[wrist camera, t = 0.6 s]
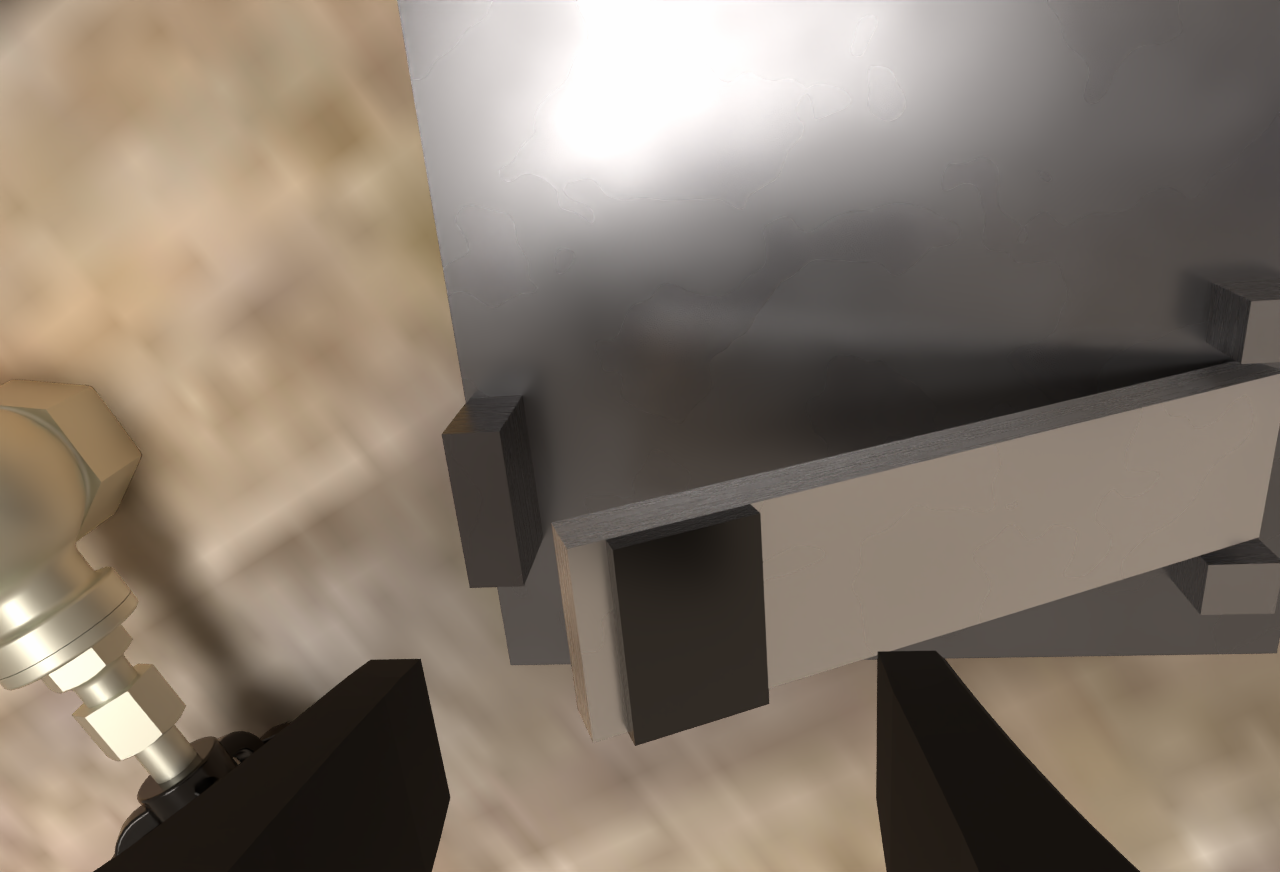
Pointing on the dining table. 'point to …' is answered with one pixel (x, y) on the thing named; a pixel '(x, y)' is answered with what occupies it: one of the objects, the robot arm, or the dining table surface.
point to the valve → (88, 597)
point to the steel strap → (902, 543)
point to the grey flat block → (840, 257)
